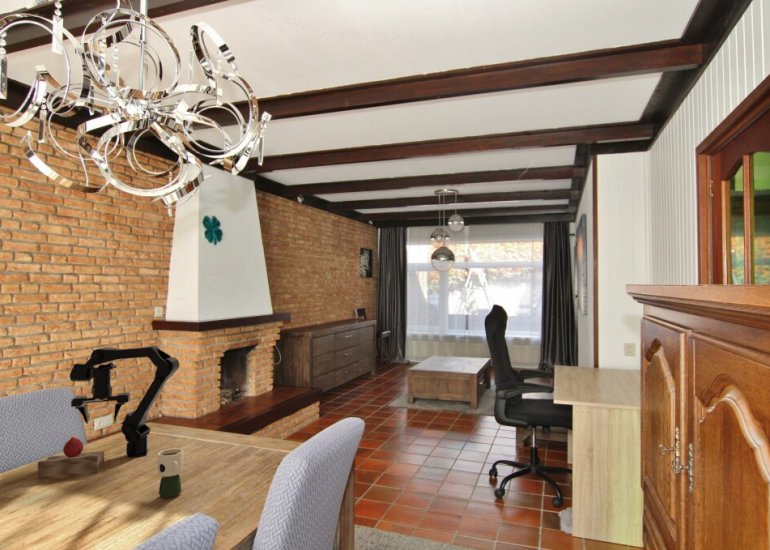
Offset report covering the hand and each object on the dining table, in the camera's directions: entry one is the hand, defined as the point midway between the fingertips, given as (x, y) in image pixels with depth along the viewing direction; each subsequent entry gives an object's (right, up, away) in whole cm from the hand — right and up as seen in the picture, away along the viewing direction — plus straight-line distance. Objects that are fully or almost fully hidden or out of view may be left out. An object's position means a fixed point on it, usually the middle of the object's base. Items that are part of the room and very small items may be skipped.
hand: (101, 422), depth 178 cm
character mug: (+43, -11, -36) cm, 57 cm away
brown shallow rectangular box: (0, -12, -16) cm, 20 cm away
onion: (0, -8, -15) cm, 18 cm away
